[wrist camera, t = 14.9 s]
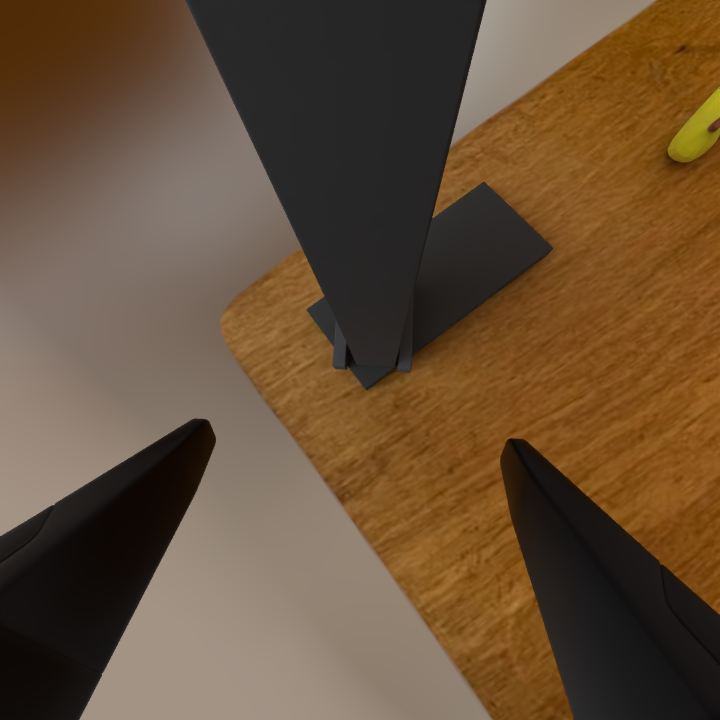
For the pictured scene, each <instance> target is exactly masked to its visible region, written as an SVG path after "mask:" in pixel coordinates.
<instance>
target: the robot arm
mask: <svg viewBox="0 0 720 720" xmlns="http://www.w3.org/2000/svg"><path fill="white" fill-rule="evenodd" d="M215 443H216V437H215V434H214V432H213V429H212V427H211V425H210V422H209V421H208V420H206V419H192V420H190V421H189V422H187V423H186V424H184V425H182V426H181V427H179V428H177V429H176V430H174V431H173V432H171V433H169V434H168V435H166V436H164V437H163V438H161V439H160V440H158V441H156V442H155V443H153V444H151V445H150V446H148V447H146V448H145V449H143V450H142V451H140V452H138V453H137V454H135V455H134V456H132V457H130V458H128V459H127V460H125V461H124V462H122V463H120V464H119V465H117V466H115V467H114V468H112V469H111V470H109V471H107V472H106V473H104V474H102V475H101V476H99V477H97V478H96V479H95V480H93V481H91V482H89V483H88V484H86V485H84V486H83V487H81V488H80V489H78V490H76V491H75V492H73V493H72V494H70V495H68V496H66V497H65V498H63V499H62V500H60V501H58V502H57V503H56V504H55V505H52V506H50V507H48V508H47V509H45V510H43V511H42V512H40V513H39V514H37V515H36V516H34V517H32V518H30V519H29V520H27V521H25V522H24V523H22V524H20V525H19V526H17V527H15V528H14V529H12V530H10V531H9V532H7V533H5V534H4V535H2V536H0V720H79V719H80V717H81V715H82V713H83V711H84V709H85V707H86V706H87V704H88V702H89V700H90V698H91V696H92V694H93V692H94V690H95V688H96V686H97V684H98V682H99V680H100V678H101V676H102V673H103V672H104V670H105V668H106V666H107V664H108V662H109V660H110V658H111V656H112V654H113V652H114V650H115V649H116V647H117V645H118V643H119V641H120V639H121V637H122V635H123V633H124V631H125V629H126V627H127V625H128V623H129V621H130V620H131V617H132V616H133V614H134V612H135V610H136V608H137V606H138V604H139V602H140V600H141V598H142V596H143V594H144V592H145V590H146V588H147V587H148V585H149V583H150V581H151V579H152V577H153V575H154V573H155V571H156V569H157V567H158V565H159V563H160V561H161V559H162V557H163V556H164V554H165V552H166V550H167V548H168V546H169V543H170V542H171V540H172V538H173V536H174V534H175V532H176V530H177V528H178V526H179V524H180V522H181V521H182V519H183V517H184V515H185V513H186V511H187V509H188V507H189V505H190V503H191V501H192V499H193V497H194V495H195V493H196V491H197V489H198V486H199V484H200V482H201V479H202V477H203V474H204V472H205V469H206V466H207V464H208V461H209V459H210V456H211V454H212V451H213V449H214V446H215ZM500 464H501V470H502V475H503V480H504V485H505V490H506V495H507V500H508V505H509V510H510V514H511V519H512V522H513V526H514V529H515V532H516V535H517V539H518V542H519V545H520V548H521V551H522V555H523V558H524V561H525V564H526V567H527V570H528V574H529V577H530V580H531V583H532V586H533V590H534V593H535V596H536V599H537V602H538V606H539V609H540V612H541V615H542V618H543V621H544V625H545V628H546V631H547V634H548V637H549V641H550V644H551V647H552V650H553V653H554V657H555V660H556V663H557V666H558V669H559V673H560V676H561V679H562V682H563V685H564V688H565V692H566V695H567V698H568V701H569V704H570V708H571V711H572V714H573V717H574V720H720V615H719V614H718V613H717V612H716V611H715V610H713V609H712V608H711V607H710V606H709V605H708V604H707V603H706V602H704V601H703V600H702V599H701V598H700V597H699V596H698V595H696V594H695V593H694V592H693V591H692V590H691V589H690V588H688V587H687V586H686V585H685V584H684V583H683V582H682V581H681V580H680V579H678V578H677V577H676V576H675V575H674V574H673V573H672V572H671V571H670V570H668V569H667V568H666V567H665V566H664V565H660V562H659V561H658V560H657V559H656V558H655V557H654V556H653V555H652V554H651V553H650V552H648V551H647V550H646V549H645V548H644V547H643V546H642V545H641V544H640V543H638V542H637V541H636V540H635V539H634V538H633V537H632V536H631V535H630V534H629V533H627V532H626V531H625V530H624V529H623V528H622V527H621V526H620V525H619V524H617V523H616V522H615V521H614V520H613V519H612V518H611V517H610V516H609V515H608V514H606V513H605V512H604V511H603V510H602V509H601V508H600V507H599V506H598V505H597V504H595V503H594V502H593V501H592V500H591V499H590V498H589V497H588V496H587V495H585V494H584V493H583V492H582V491H581V490H580V489H579V488H578V487H577V486H576V485H574V484H573V483H572V482H571V481H570V480H569V479H568V478H567V477H566V476H564V475H563V474H562V473H561V472H560V471H559V470H558V469H557V468H556V467H555V466H553V465H552V464H551V463H550V462H549V461H548V460H547V459H546V458H545V457H543V456H542V455H541V454H540V453H539V452H538V451H537V450H536V449H535V448H534V447H532V446H531V445H530V444H529V443H528V442H527V441H525V440H524V439H514V438H510V439H508V440H507V442H506V444H505V447H504V450H503V452H502V455H501V459H500Z"/></svg>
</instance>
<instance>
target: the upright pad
mask: <svg viewBox="0 0 720 720" xmlns="http://www.w3.org/2000/svg"><path fill="white" fill-rule="evenodd" d="M186 2H187V4H188V6H189V9H190V11H191V13H192V15H193V17H194V19H195V21H196V24H197V26H198V28H199V30H200V32H201V34H202V36H203V39H204V41H205V43H206V45H207V47H208V49H209V51H210V53H211V56H212V58H213V60H214V62H215V64H216V66H217V68H218V70H219V72H220V75H221V77H222V79H223V81H224V83H225V85H226V87H227V89H228V92H229V94H230V96H231V98H232V100H233V102H234V104H235V106H236V109H237V111H238V113H239V115H240V117H241V119H242V121H243V123H244V126H245V128H246V130H247V132H248V134H249V136H250V138H251V141H252V143H253V145H254V147H255V149H256V151H257V153H258V155H259V158H260V160H261V162H262V164H263V166H264V168H265V170H266V172H267V175H268V177H269V179H270V181H271V183H272V185H273V187H274V189H275V192H276V194H277V196H278V198H279V200H280V202H281V204H282V206H283V209H284V211H285V213H286V215H287V217H288V219H289V221H290V224H291V226H292V228H293V230H294V232H295V234H296V236H297V238H298V241H299V243H300V245H301V247H302V249H303V251H304V253H305V255H306V258H307V260H308V262H309V264H310V266H311V268H312V270H313V272H314V275H315V277H316V279H317V281H318V283H319V285H320V287H321V289H322V292H323V294H324V296H325V298H326V300H327V302H328V304H329V306H330V309H331V311H332V313H333V315H334V317H335V319H336V321H337V323H338V326H339V328H340V330H341V332H342V334H343V336H344V338H345V341H346V343H347V345H348V347H349V349H350V351H351V353H352V355H353V358H354V360H355V362H356V364H357V365H362V366H376V367H390V368H394V367H395V364H396V360H397V356H398V352H399V348H400V344H401V340H402V336H403V332H404V328H405V324H406V320H407V316H408V312H409V308H410V304H411V300H412V296H413V292H414V288H415V284H416V280H417V276H418V272H419V268H420V264H421V260H422V256H423V252H424V248H425V244H426V240H427V236H428V232H429V228H430V224H431V220H432V216H433V212H434V208H435V204H436V200H437V196H438V192H439V188H440V184H441V180H442V176H443V172H444V168H445V164H446V160H447V156H448V152H449V148H450V144H451V140H452V136H453V132H454V128H455V124H456V120H457V116H458V112H459V108H460V104H461V100H462V96H463V92H464V88H465V84H466V80H467V76H468V72H469V68H470V64H471V60H472V56H473V52H474V48H475V44H476V40H477V36H478V32H479V28H480V24H481V20H482V16H483V12H484V8H485V4H486V0H186Z"/></svg>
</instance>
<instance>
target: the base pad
mask: <svg viewBox="0 0 720 720" xmlns="http://www.w3.org/2000/svg"><path fill="white" fill-rule="evenodd" d="M552 249H553V247H552V246H551V245H550V244H549V243H548V242H547V241H545V240H544V239H543V238H542V237H541V236H540V235H539V234H538V233H537V232H536V231H535V230H534V229H533V228H532V227H531V226H530V225H529V224H528V223H527V222H526V221H525V220H524V219H523V218H521V217H520V216H519V215H518V214H517V213H516V212H515V211H514V210H513V209H512V208H511V207H510V206H509V205H508V204H507V203H506V202H505V201H504V200H503V199H502V198H501V197H500V196H499V195H497V194H496V193H495V192H494V191H493V190H492V189H491V188H490V187H489V186H488V185H487V184H486V183H485V182H482V183H481V184H480V185H478V186H477V187H476V188H474V189H473V190H471V191H470V192H469V193H467V194H466V195H464V196H463V197H462V198H460V199H459V200H458V201H456V202H455V203H453V204H452V205H451V206H449V207H448V208H446V209H445V210H444V211H442V212H441V213H440V214H438V215H437V216H435V217H434V218H433V219H432V220H431V224H430V228H429V232H428V236H427V240H426V244H425V248H424V252H423V256H422V260H421V264H420V268H419V272H418V276H417V280H416V284H415V288H414V292H413V296H412V300H411V304H410V308H409V312H408V316H407V320H406V324H405V328H404V332H403V336H402V340H401V344H400V348H399V352H398V356H397V360H396V364H395V367H394V368H390V367H376V366H362V365H357V364H356V362H355V360H354V358H353V355H352V353H351V351H350V349H349V347H348V345H347V343H346V341H345V338H344V336H343V334H342V332H341V330H340V328H339V326H338V323H337V321H336V319H335V317H334V315H333V313H332V311H331V309H330V306H329V304H328V302H327V300H326V298H325V297H323V298H322V299H320V300H319V301H318V302H316V303H315V304H313V305H312V306H311V307H309V308H308V309H307V311H308V313H309V314H310V315H311V317H312V318H313V320H314V321H315V322H316V324H317V325H318V326H319V328H320V329H321V330H322V332H323V333H324V334H325V336H326V337H327V338H328V340H329V341H330V342H331V344H332V345H333V346H334V353H333V367H334V368H335V369H344V370H347V366H348V367H349V368H350V369H351V371H352V372H353V373H354V375H355V376H356V377H357V379H358V380H359V381H360V383H361V384H362V386H363V387H364V388H365V390H368V389H369V388H370V387H372V386H373V385H374V384H376V383H377V382H378V381H380V380H381V379H382V378H384V377H385V376H386V375H388V374H389V373H390V372H392V371H393V370H394V369H396V368H397V367H398V372H410V371H411V369H412V356H413V355H414V354H416V353H417V352H418V351H420V350H421V349H422V348H424V347H425V346H426V345H428V344H429V343H430V342H432V341H433V340H434V339H436V338H437V337H438V336H440V335H441V334H442V333H444V332H445V331H446V330H448V329H449V328H450V327H452V326H453V325H454V324H456V323H457V322H458V321H460V320H461V319H462V318H464V317H465V316H466V315H468V314H469V313H470V312H472V311H473V310H474V309H476V308H477V307H478V306H480V305H481V304H482V303H484V302H485V301H486V300H488V299H489V298H490V297H492V296H493V295H494V294H496V293H497V292H498V291H500V290H501V289H502V288H504V287H505V286H506V285H508V284H509V283H510V282H512V281H513V280H514V279H516V278H517V277H518V276H520V275H521V274H522V273H524V272H525V271H526V270H528V269H529V268H530V267H532V266H533V265H535V264H536V263H537V262H539V261H540V260H541V259H543V258H544V257H545V256H546V255H547V254H548V253H549V252H550V251H551V250H552Z"/></svg>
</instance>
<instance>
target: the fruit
mask: <svg viewBox="0 0 720 720" xmlns="http://www.w3.org/2000/svg"><path fill="white" fill-rule="evenodd" d="M719 135H720V86H719V88H718V89H717V90H716V91H715V92H714V93H713V94H712V95H711V96H710V97H709V98H708V99H707V100H706V101H705V103H704V104H703V105H702V106H701V107H700V108H699V109H698V110H697V111H696V112H695V114H694V115H693V116H692V117H691V118H690V119H689V120H688V121H687V123H686V124H685V125H684V126H683V127H682V128H681V130H680V131H679V132H678V133H677V134H676V136H675V137H674V138H673V139H672V141H671V143H670V145H669V147H668V149H667V151H668V154H669V156H670V157H671V158H672V159H673V160H675V161H678V162H690V161H692V160H694V159H696V158H698V157H700V156H701V155H702V154H704V153H705V152H706V151H708V150H709V149H710V148H711V146H712V145H713V144H714V143H715V142H716V141H717V139H718V137H719Z"/></svg>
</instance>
